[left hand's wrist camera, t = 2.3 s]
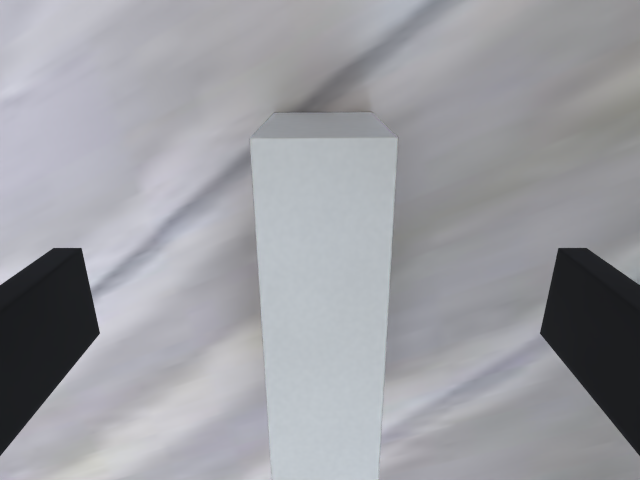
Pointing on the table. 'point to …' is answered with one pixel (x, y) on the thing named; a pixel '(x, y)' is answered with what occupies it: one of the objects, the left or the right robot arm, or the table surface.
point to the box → (324, 287)
